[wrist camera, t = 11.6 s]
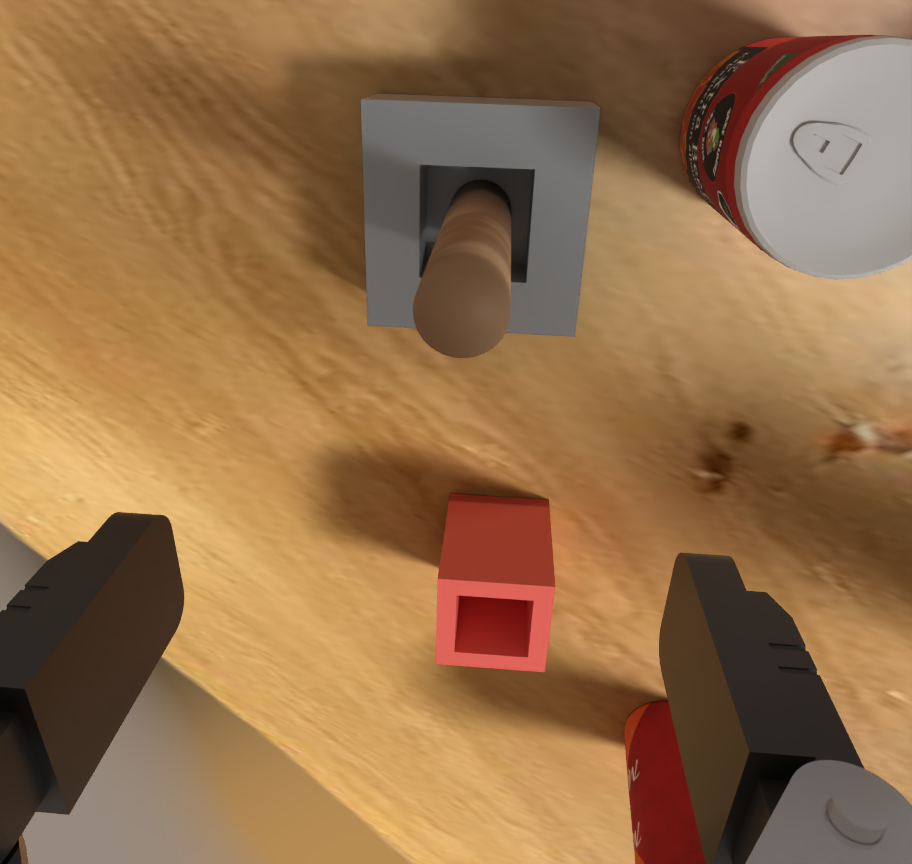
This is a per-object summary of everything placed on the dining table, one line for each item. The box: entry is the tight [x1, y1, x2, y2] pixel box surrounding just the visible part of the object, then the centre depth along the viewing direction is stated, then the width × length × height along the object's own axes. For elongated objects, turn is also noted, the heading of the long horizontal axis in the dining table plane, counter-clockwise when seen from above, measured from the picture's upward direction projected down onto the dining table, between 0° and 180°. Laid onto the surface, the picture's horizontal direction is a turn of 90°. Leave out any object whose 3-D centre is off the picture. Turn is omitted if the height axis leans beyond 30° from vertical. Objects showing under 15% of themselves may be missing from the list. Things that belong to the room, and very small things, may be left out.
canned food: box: [680, 35, 912, 279], centre depth 29 cm, size 8×8×11 cm
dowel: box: [413, 180, 511, 358], centre depth 29 cm, size 3×3×15 cm
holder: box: [361, 93, 601, 337], centre depth 34 cm, size 10×10×4 cm
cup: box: [436, 493, 555, 672], centre depth 42 cm, size 6×6×8 cm
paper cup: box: [625, 701, 706, 864], centre depth 46 cm, size 8×8×14 cm
